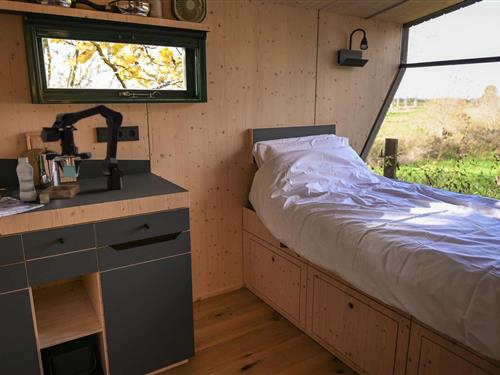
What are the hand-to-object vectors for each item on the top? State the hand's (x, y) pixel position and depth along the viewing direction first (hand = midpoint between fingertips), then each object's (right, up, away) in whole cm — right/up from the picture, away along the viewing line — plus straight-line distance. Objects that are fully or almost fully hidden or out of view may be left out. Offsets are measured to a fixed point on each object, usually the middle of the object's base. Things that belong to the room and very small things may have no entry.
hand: (71, 174), depth 173 cm
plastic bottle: (-17, -13, -4) cm, 22 cm away
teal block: (0, -1, 0) cm, 1 cm away
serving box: (-8, -10, +6) cm, 14 cm away
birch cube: (-9, -13, -6) cm, 17 cm away
